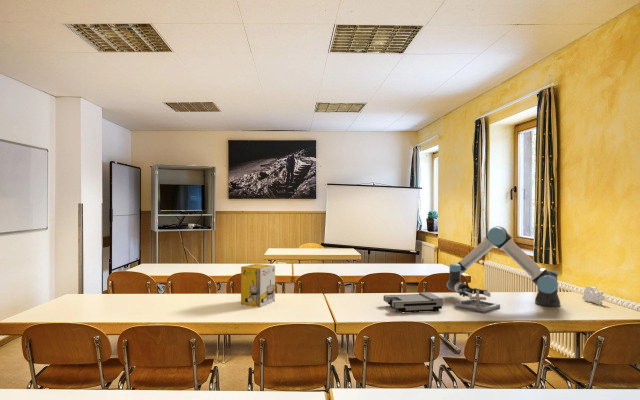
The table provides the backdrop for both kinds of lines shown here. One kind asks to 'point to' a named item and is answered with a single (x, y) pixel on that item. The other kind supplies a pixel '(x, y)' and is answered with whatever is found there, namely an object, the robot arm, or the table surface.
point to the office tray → (415, 302)
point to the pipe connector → (478, 298)
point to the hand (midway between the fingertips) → (480, 295)
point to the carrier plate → (482, 307)
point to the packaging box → (257, 284)
